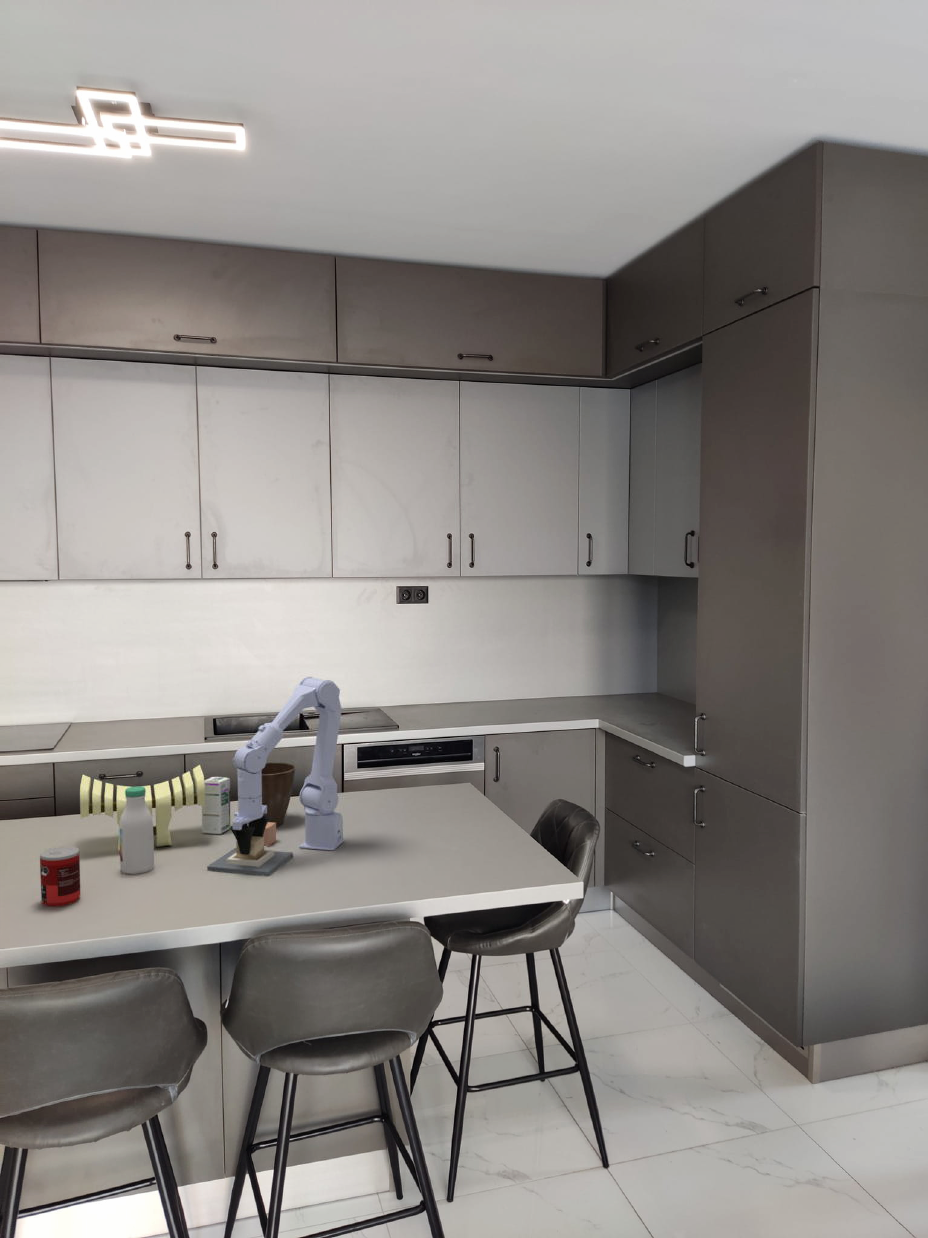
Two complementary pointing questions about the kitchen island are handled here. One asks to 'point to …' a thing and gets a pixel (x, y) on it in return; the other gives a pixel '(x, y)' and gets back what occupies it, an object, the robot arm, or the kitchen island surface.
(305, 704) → the robot arm
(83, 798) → the slatted curved stool
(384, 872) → the kitchen island surface
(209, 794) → the syrup box
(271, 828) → the terracotta block
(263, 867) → the slate baseplate
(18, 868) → the kitchen island surface
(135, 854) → the milk bottle
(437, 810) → the kitchen island surface
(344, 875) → the kitchen island surface
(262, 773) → the plant pot
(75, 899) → the canned food
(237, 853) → the oak block
